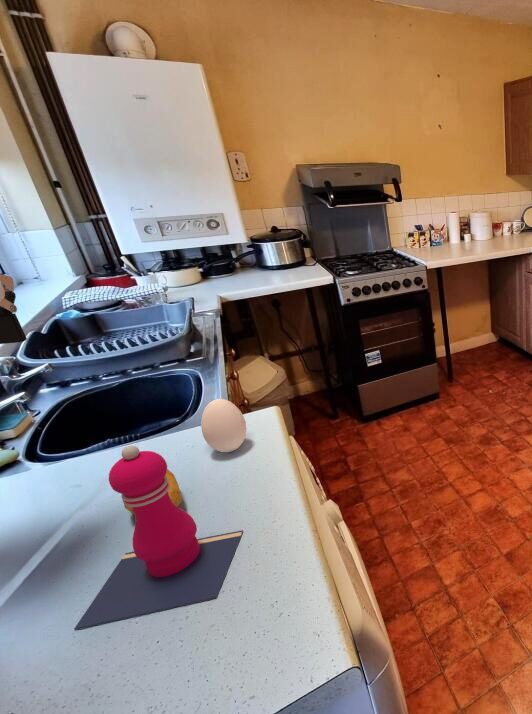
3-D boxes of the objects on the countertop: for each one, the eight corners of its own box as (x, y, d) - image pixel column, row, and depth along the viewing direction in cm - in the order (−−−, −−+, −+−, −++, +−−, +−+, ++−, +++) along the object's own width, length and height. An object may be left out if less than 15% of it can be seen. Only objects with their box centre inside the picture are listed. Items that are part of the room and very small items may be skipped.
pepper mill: (213, 552, 65) (171, 441, 58) (157, 590, 60) (103, 472, 52) (190, 532, 69) (149, 425, 62) (135, 566, 63) (82, 452, 56)
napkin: (74, 630, 55) (73, 628, 55) (126, 554, 66) (125, 552, 66) (216, 598, 59) (216, 596, 59) (243, 531, 70) (242, 529, 69)
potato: (136, 543, 68) (120, 508, 65) (126, 498, 77) (111, 465, 75) (191, 518, 72) (178, 484, 70) (175, 478, 82) (163, 447, 79)
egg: (207, 465, 85) (189, 413, 81) (213, 444, 92) (197, 396, 87) (250, 454, 88) (235, 404, 84) (253, 435, 95) (239, 387, 90)
